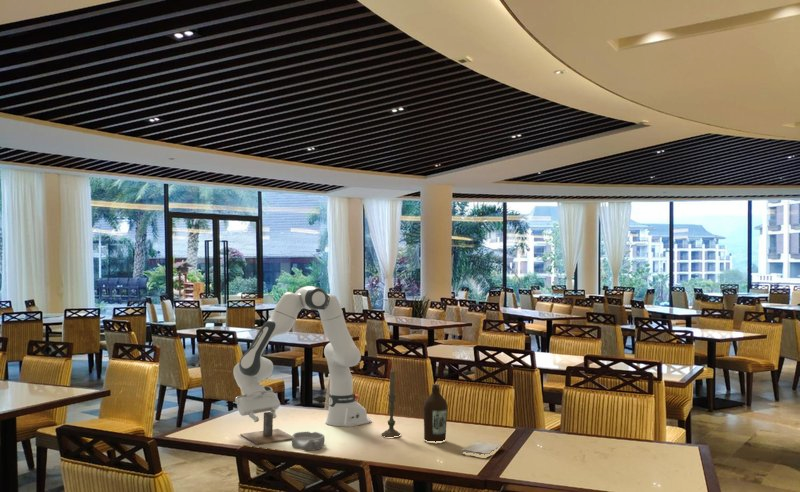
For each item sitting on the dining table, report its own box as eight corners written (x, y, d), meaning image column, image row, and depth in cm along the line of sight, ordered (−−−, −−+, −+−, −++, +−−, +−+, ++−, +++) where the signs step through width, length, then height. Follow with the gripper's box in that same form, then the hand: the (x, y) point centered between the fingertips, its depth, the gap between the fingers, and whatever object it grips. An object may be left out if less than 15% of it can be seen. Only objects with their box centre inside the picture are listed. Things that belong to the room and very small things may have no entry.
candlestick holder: (402, 433, 303) (403, 368, 304) (400, 438, 294) (401, 371, 295) (382, 432, 304) (383, 367, 305) (379, 437, 295) (381, 370, 296)
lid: (277, 430, 302) (278, 406, 302) (295, 439, 287) (296, 414, 287) (240, 435, 291) (241, 411, 292) (256, 445, 277) (257, 419, 277)
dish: (322, 451, 272) (322, 439, 272) (288, 451, 272) (288, 438, 272) (326, 442, 287) (326, 430, 287) (294, 441, 287) (295, 430, 287)
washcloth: (459, 456, 271) (460, 448, 271) (477, 446, 287) (477, 438, 287) (486, 460, 265) (487, 453, 265) (502, 450, 281) (502, 443, 281)
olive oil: (418, 439, 293) (419, 383, 294) (439, 437, 298) (440, 381, 299) (430, 445, 284) (431, 387, 284) (451, 443, 288) (452, 385, 289)
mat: (279, 431, 303) (279, 429, 303) (298, 441, 287) (298, 439, 287) (237, 436, 292) (237, 435, 292) (255, 447, 275) (255, 446, 275)
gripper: (236, 392, 288) (249, 418, 281) (274, 386, 303) (287, 411, 296) (230, 401, 291) (242, 427, 284) (268, 395, 306) (280, 420, 299)
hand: (265, 419), depth 290 cm, fingers open, 8 cm apart
